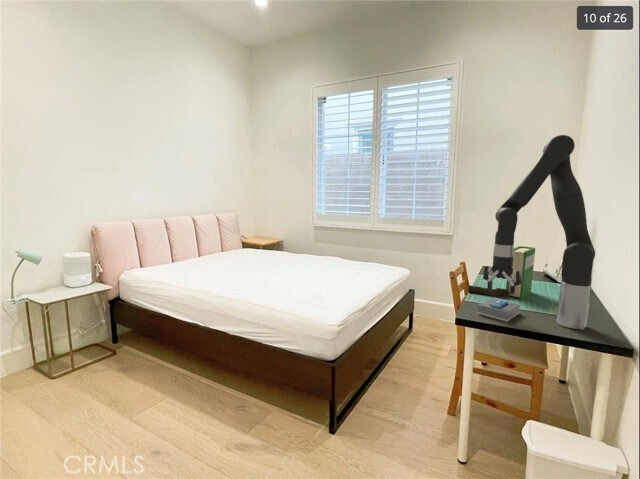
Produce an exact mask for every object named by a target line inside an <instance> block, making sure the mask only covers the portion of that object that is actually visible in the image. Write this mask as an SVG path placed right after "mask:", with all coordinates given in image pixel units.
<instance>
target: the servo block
mask: <svg viewBox="0 0 640 479" xmlns="http://www.w3.org/2000/svg"><path fill="white" fill-rule="evenodd" d="M508 302H509V301H508V300H505V299H500V298H499V299H497V301H495V302H493V303H491V304H490V306H493V307H497V308H504V307H506V304H507V303H508Z"/></svg>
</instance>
